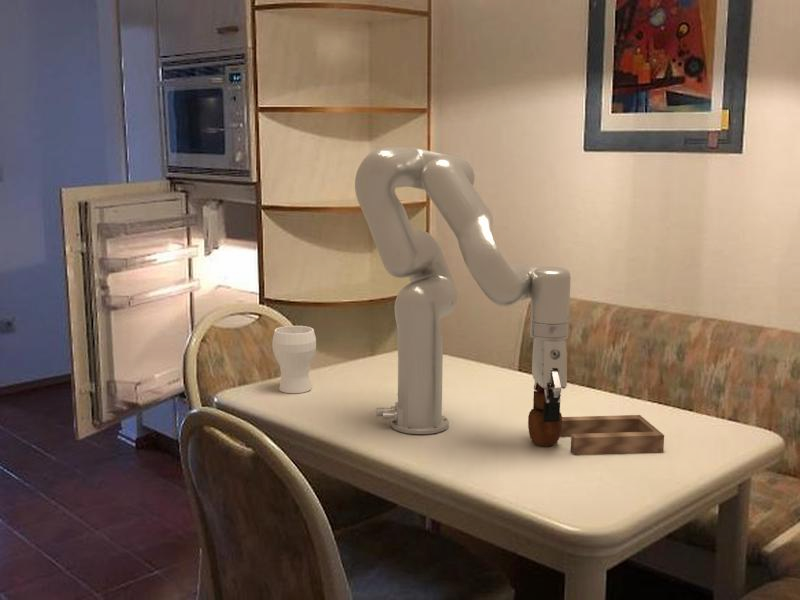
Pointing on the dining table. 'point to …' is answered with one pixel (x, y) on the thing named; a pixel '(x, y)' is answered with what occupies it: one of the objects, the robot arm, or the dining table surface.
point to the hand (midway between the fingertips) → (546, 414)
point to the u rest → (611, 435)
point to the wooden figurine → (542, 422)
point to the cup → (294, 356)
